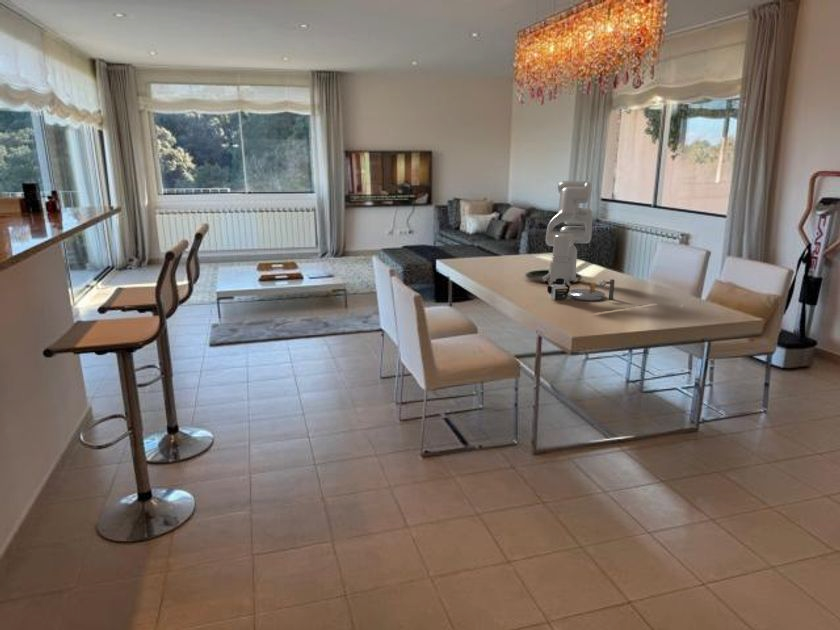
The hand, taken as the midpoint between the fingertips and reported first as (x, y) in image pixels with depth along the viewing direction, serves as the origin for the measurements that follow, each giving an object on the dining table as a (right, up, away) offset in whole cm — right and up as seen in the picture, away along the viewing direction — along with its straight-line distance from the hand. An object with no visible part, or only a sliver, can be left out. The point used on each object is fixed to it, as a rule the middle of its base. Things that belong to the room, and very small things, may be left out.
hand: (558, 293), depth 290 cm
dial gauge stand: (+24, -4, -2) cm, 24 cm away
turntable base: (+15, -3, +3) cm, 16 cm away
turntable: (+15, -2, +3) cm, 15 cm away
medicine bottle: (0, -4, +1) cm, 4 cm away
